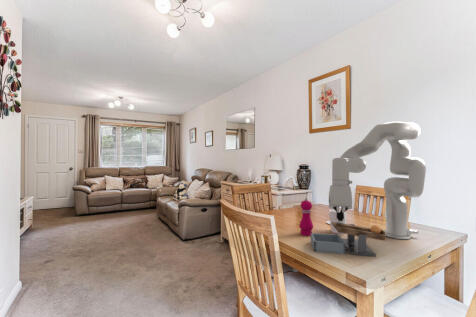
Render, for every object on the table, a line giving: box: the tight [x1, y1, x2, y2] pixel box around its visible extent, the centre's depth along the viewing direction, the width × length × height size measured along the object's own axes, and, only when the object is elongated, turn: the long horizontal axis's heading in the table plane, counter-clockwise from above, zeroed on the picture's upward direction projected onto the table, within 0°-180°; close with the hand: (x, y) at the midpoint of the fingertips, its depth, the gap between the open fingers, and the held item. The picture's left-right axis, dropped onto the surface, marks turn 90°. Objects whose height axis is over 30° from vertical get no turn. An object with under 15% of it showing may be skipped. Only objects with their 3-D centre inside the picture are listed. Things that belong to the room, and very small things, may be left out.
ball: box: [370, 224, 382, 234], centre depth 101 cm, size 4×4×4 cm
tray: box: [332, 222, 387, 242], centre depth 106 cm, size 19×15×4 cm
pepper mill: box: [298, 197, 314, 237], centre depth 125 cm, size 7×7×20 cm
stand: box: [341, 223, 377, 258], centre depth 106 cm, size 10×18×9 cm, turn 169°
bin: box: [310, 232, 346, 255], centre depth 105 cm, size 13×12×4 cm
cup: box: [328, 208, 347, 235], centre depth 129 cm, size 9×9×12 cm
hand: (340, 220), depth 111 cm, fingers closed
